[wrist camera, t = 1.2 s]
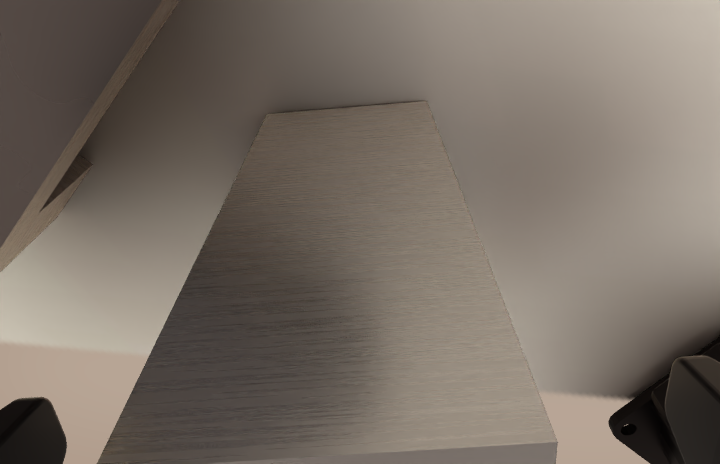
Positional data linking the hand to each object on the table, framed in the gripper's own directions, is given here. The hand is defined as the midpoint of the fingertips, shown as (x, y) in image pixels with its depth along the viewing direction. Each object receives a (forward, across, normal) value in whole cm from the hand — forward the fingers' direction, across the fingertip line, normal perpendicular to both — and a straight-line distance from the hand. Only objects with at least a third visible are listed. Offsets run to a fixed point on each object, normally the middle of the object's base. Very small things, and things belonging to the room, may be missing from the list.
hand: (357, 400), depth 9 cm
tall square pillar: (+8, 0, 0) cm, 8 cm away
